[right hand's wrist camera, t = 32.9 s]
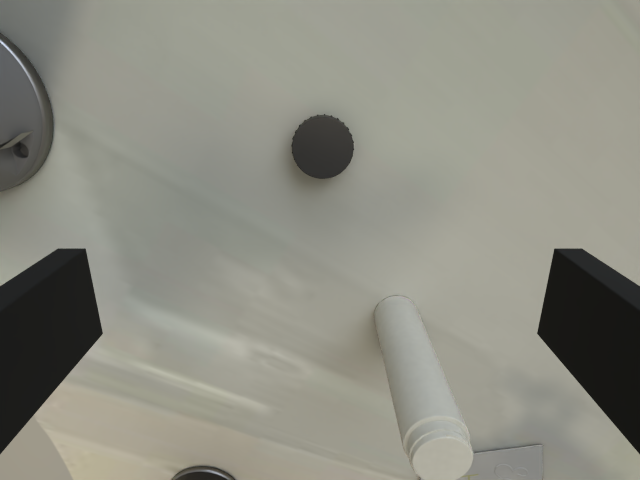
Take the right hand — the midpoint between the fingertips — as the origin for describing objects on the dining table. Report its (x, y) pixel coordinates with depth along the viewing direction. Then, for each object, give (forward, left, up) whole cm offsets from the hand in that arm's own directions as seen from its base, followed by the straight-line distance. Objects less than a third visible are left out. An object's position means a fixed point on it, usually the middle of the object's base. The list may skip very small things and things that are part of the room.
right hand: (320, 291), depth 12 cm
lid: (0, 0, -28) cm, 28 cm away
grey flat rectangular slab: (+9, -51, -30) cm, 60 cm away
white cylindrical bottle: (+3, -19, -30) cm, 36 cm away
